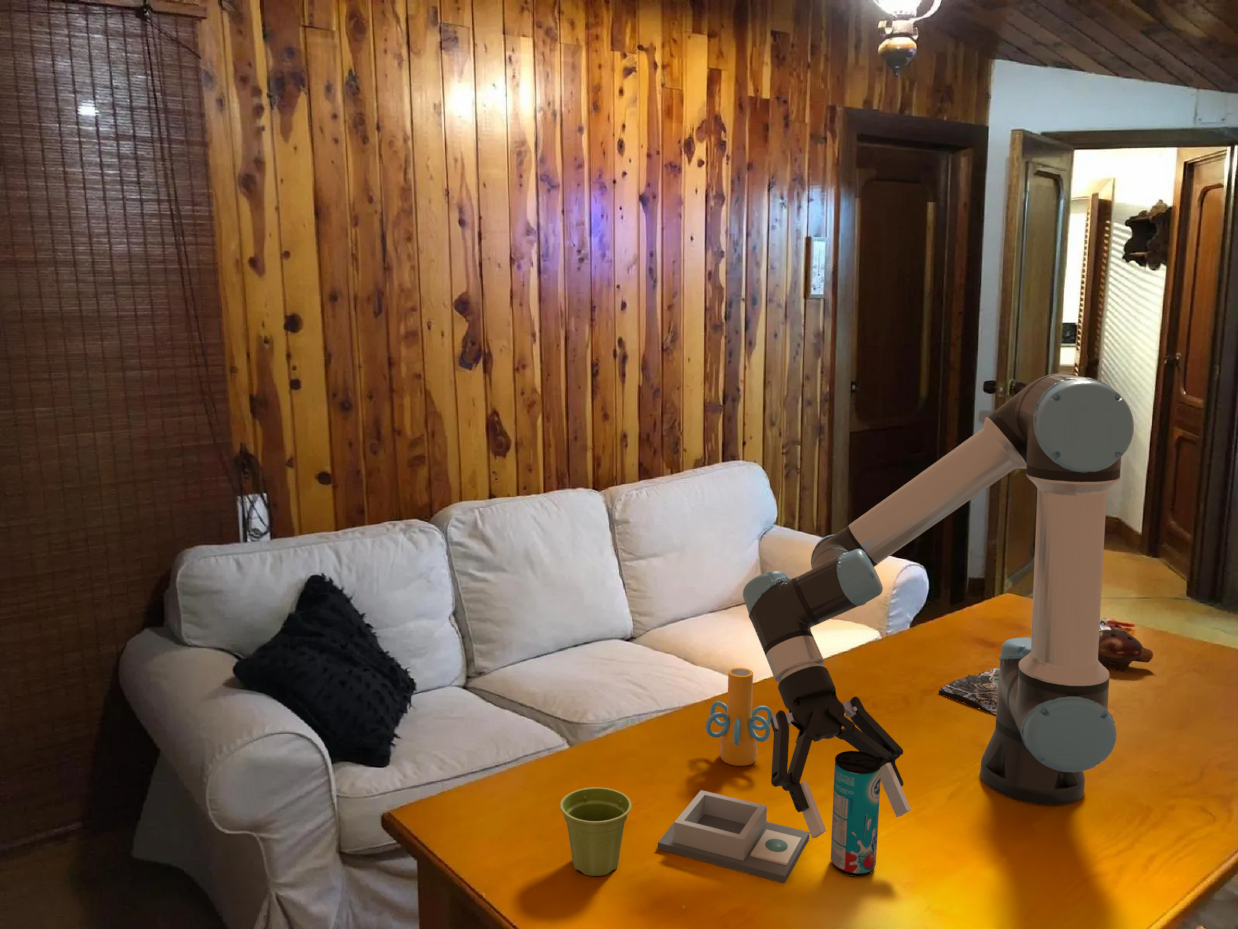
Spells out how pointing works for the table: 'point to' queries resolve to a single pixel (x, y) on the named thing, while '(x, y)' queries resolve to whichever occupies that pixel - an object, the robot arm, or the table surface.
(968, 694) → the terrain model
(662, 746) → the table surface
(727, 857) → the can holder
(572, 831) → the plant pot
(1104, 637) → the decorative turtle
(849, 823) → the beverage can
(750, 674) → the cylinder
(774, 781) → the robot arm
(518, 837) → the table surface
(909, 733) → the table surface
